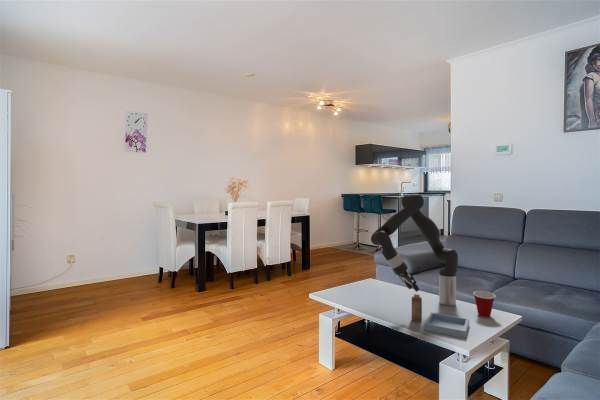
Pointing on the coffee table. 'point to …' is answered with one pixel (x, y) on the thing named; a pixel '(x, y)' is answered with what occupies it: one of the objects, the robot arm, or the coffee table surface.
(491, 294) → the plastic cup
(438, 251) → the robot arm
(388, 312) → the coffee table surface
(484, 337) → the coffee table surface
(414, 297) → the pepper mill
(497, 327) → the coffee table surface
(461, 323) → the bin
